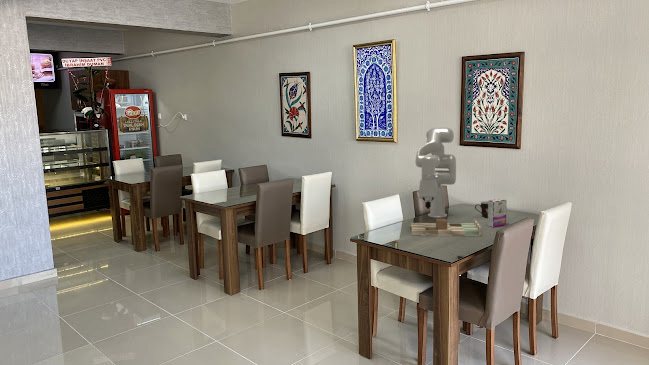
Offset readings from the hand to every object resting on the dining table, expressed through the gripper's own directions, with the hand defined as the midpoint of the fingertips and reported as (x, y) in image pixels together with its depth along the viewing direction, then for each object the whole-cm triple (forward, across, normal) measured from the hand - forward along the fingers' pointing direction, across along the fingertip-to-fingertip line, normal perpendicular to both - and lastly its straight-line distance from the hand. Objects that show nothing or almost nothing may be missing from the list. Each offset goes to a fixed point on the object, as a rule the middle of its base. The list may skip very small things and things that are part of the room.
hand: (428, 208), depth 287 cm
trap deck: (+15, -10, -4) cm, 18 cm away
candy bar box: (+15, -44, -20) cm, 50 cm away
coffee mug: (+15, -40, -44) cm, 62 cm away
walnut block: (+12, -8, -1) cm, 15 cm away
